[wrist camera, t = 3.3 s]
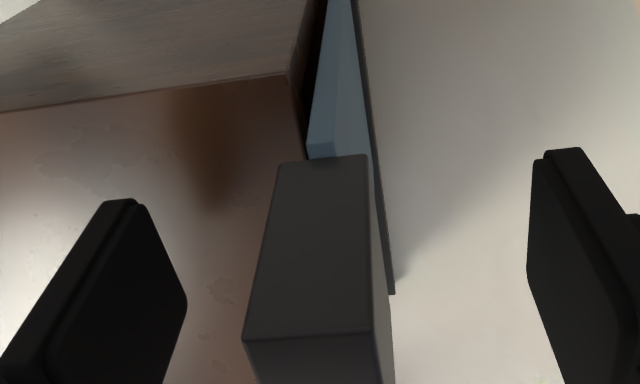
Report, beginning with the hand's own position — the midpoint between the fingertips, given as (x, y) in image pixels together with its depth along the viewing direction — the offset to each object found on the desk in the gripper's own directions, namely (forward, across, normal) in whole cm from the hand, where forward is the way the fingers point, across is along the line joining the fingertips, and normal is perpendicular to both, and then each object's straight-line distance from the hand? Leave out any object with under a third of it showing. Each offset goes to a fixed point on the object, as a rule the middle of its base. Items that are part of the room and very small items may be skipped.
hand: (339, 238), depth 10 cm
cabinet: (+13, +6, +6) cm, 16 cm away
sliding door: (+12, 0, +2) cm, 12 cm away
